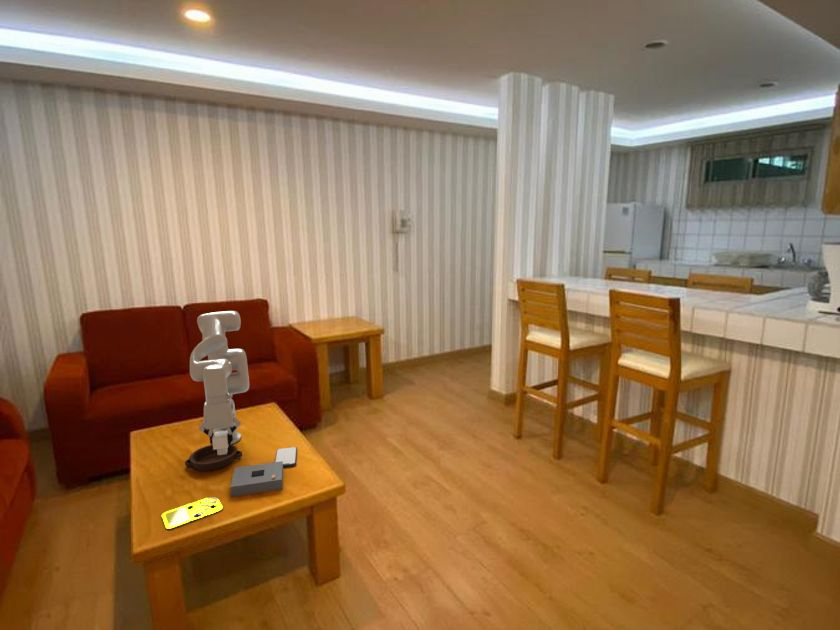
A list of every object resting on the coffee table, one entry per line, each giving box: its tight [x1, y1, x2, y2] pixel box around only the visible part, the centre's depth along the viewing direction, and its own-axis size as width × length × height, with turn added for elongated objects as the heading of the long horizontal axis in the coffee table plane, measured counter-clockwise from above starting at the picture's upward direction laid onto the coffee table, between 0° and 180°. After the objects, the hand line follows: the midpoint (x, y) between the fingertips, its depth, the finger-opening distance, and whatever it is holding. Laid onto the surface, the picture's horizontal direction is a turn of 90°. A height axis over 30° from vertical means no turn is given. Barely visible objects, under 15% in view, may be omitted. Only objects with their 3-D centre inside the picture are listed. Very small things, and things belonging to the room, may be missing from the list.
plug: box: [212, 431, 229, 455], centre depth 172 cm, size 6×5×8 cm
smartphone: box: [274, 446, 298, 469], centre depth 196 cm, size 9×2×16 cm
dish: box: [184, 444, 243, 472], centre depth 192 cm, size 18×22×5 cm
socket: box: [230, 461, 284, 498], centre depth 177 cm, size 14×18×5 cm
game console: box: [161, 496, 224, 531], centre depth 159 cm, size 18×11×2 cm, turn 129°
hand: (221, 443), depth 172 cm, fingers closed on plug, 5 cm apart
